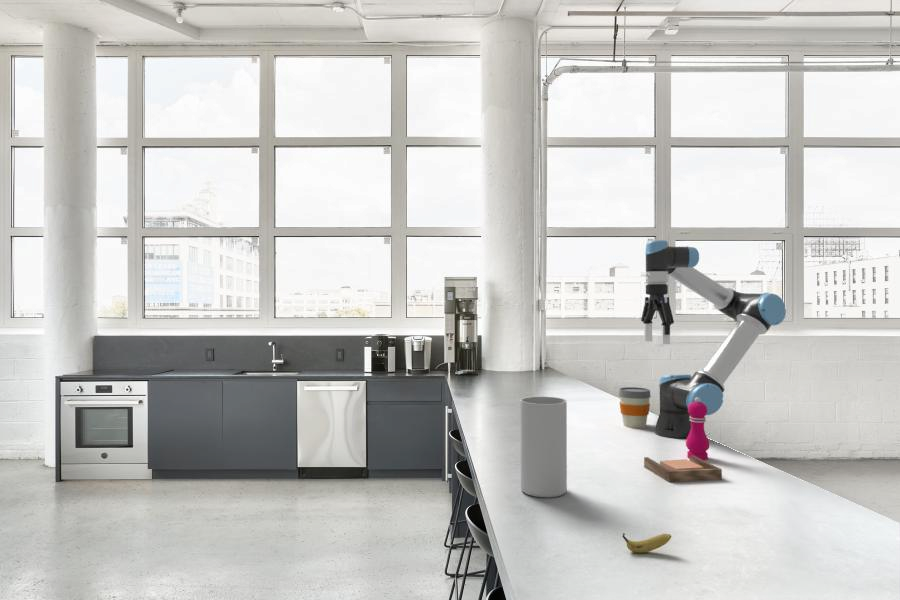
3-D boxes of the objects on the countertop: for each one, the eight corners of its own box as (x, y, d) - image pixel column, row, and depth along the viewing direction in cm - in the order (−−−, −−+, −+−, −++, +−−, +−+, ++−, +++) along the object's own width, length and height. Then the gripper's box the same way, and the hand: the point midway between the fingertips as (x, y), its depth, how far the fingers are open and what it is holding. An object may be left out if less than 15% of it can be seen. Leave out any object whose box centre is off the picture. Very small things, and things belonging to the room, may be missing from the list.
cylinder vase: (531, 500, 160) (531, 405, 160) (514, 486, 172) (513, 397, 172) (574, 496, 163) (574, 403, 163) (554, 482, 175) (554, 395, 175)
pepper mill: (683, 458, 200) (683, 398, 200) (687, 453, 206) (688, 394, 206) (707, 461, 197) (707, 400, 196) (710, 456, 203) (711, 396, 203)
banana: (669, 550, 128) (669, 531, 128) (673, 555, 126) (673, 536, 126) (620, 549, 129) (620, 531, 129) (623, 554, 126) (623, 535, 126)
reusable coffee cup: (612, 424, 255) (612, 388, 255) (635, 421, 260) (635, 386, 260) (633, 430, 244) (633, 392, 244) (657, 427, 249) (657, 390, 249)
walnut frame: (693, 464, 193) (693, 455, 193) (721, 479, 177) (721, 469, 177) (644, 466, 191) (644, 457, 191) (668, 482, 175) (668, 471, 175)
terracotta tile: (686, 468, 190) (686, 459, 190) (703, 477, 181) (703, 467, 181) (659, 470, 189) (659, 460, 189) (675, 479, 180) (675, 468, 180)
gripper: (632, 284, 231) (632, 340, 231) (663, 282, 206) (663, 345, 206) (650, 284, 232) (650, 340, 232) (684, 282, 207) (684, 345, 207)
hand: (656, 342), depth 219 cm, fingers open, 13 cm apart
